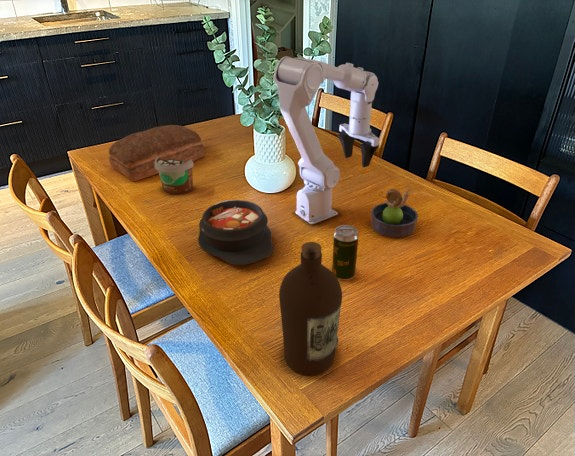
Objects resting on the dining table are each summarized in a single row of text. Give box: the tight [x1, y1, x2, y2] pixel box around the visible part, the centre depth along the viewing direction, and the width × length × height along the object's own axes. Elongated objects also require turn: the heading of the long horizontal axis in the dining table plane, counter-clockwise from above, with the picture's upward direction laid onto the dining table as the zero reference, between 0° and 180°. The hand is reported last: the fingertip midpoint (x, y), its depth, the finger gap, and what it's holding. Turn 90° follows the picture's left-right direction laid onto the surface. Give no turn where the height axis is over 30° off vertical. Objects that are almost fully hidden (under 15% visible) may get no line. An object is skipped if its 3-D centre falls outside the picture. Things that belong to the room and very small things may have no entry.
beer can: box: [331, 224, 359, 282], centre depth 102 cm, size 5×5×12 cm
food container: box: [155, 156, 195, 196], centre depth 138 cm, size 12×6×10 cm, turn 76°
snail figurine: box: [382, 187, 412, 225], centre depth 119 cm, size 5×6×12 cm
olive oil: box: [278, 241, 343, 377], centre depth 79 cm, size 11×11×25 cm
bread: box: [108, 124, 206, 182], centre depth 156 cm, size 17×29×11 cm, turn 133°
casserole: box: [197, 199, 275, 266], centre depth 115 cm, size 25×19×8 cm
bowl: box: [369, 202, 419, 239], centre depth 121 cm, size 12×12×4 cm
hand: (356, 161), depth 133 cm, fingers open, 7 cm apart
